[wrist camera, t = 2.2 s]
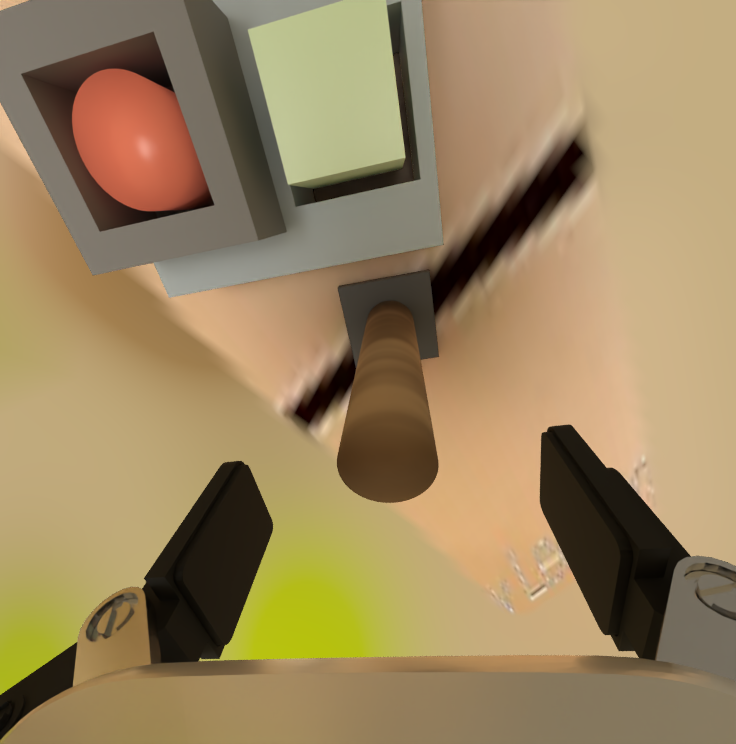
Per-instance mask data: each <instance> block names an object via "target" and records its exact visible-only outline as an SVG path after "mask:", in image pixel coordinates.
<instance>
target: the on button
mask: <svg viewBox="0 0 736 744" xmlns="http://www.w3.org/2000/svg"><path fill="white" fill-rule="evenodd" d="M248 33H249V37H250V41H251V45H252V48H253V52H254V56H255V60H256V64H257V68H258V71H259V75H260V79H261V83H262V87H263V91H264V94H265V98H266V102H267V106H268V110H269V114H270V118H271V121H272V125H273V129H274V133H275V137H276V141H277V144H278V148H279V152H280V156H281V160H282V164H283V167H284V171H285V175H286V179H287V183H288V185H293V186H299V187H305V188H312V189H316V188H320V187H325V186H329V185H334V184H338V183H342V182H347V181H351V180H356V179H360V178H364V177H369V176H373V175H377V174H382V173H386V172H391V171H395V170H399V169H402V167H403V164H404V161H405V150H404V142H403V134H402V126H401V118H400V110H399V102H398V94H397V86H396V77H395V69H394V61H393V53H392V45H391V37H390V29H389V21H388V13H387V5H386V0H343V1H339V2H336V3H333V4H329V5H326V6H323V7H320V8H316V9H313V10H310V11H307V12H303V13H300V14H297V15H294V16H290V17H287V18H284V19H281V20H277V21H274V22H271V23H268V24H264V25H261V26H258V27H254V28H251V29H248Z"/></svg>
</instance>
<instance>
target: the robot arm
mask: <svg viewBox="0 0 736 744" xmlns="http://www.w3.org/2000/svg"><path fill="white" fill-rule="evenodd" d="M540 504H541V508H542V511H543V513H544V515H545V517H546V519H547V521H548V524H549V526H550V528H551V530H552V532H553V534H554V536H555V538H556V540H557V542H558V544H559V546H560V548H561V550H562V552H563V554H564V556H565V558H566V560H567V562H568V565H569V567H570V569H571V571H572V573H573V575H574V577H575V579H576V581H577V583H578V585H579V587H580V589H581V591H582V593H583V595H584V597H585V599H586V601H587V603H588V605H589V608H590V610H591V612H592V613H593V616H594V618H595V620H596V622H597V624H598V626H599V628H600V630H601V631H602V632H603V634H605V635H611V637H612V638H613V641H614V643H615V645H616V647H617V649H618V650H619V651H635V652H636V654H637V655H638V657H639V658H630V657H629V658H628V657H612V656H570V655H562V656H561V655H560V656H559V655H502V656H501V655H500V656H423V657H421V656H420V657H363V658H313V659H312V658H310V659H309V658H308V659H267V660H224V661H202V662H201V661H199V659H200V657H201V659H219V658H220V656H221V653H222V651H223V649H224V646H225V645H227V644H228V643H229V642H230V640H231V638H232V636H233V634H234V631H235V628H236V626H237V623H238V620H239V618H240V615H241V612H242V610H243V607H244V605H245V602H246V599H247V597H248V594H249V592H250V589H251V586H252V584H253V581H254V579H255V576H256V573H257V570H258V568H259V565H260V563H261V560H262V558H263V555H264V552H265V550H266V547H267V545H268V542H269V539H270V537H271V534H272V531H273V522H272V519H271V517H270V515H269V512H268V510H267V507H266V505H265V503H264V500H263V498H262V496H261V494H260V491H259V489H258V486H257V484H256V482H255V479H254V477H253V475H252V473H251V470H250V468H249V466H248V465H245V464H244V463H243V462H242V461H234V462H225V463H223V464H222V465H221V466H220V468H219V469H218V471H217V472H216V473H215V475H214V476H213V478H212V479H211V481H210V482H209V484H208V485H207V487H206V488H205V490H204V491H203V493H202V494H201V495H200V497H199V498H198V500H197V501H196V503H195V504H194V506H193V507H192V509H191V510H190V512H189V513H188V515H187V516H186V517H185V519H184V520H183V522H182V523H181V525H180V526H179V528H178V529H177V531H176V532H175V534H174V535H173V537H172V538H171V539H170V541H169V543H168V544H167V545H166V547H165V548H164V550H163V551H162V553H161V554H160V556H159V557H158V559H157V560H156V562H155V563H154V565H153V566H152V567H151V569H150V570H149V572H148V573H147V575H146V576H145V578H144V579H145V580H146V584H145V585H144V587H143V588H142V589H141V588H139V587H128V588H125V589H122V590H120V591H118V592H116V593H114V594H112V595H111V596H109V597H108V598H107V599H105V600H104V601H103V602H102V603H100V604H99V605H98V606H97V607H96V608H95V609H94V610H93V611H92V612H91V614H90V615H89V616H88V617H87V619H86V620H85V622H84V624H83V625H82V627H81V629H80V632H79V636H78V642H77V643H75V644H74V645H72V646H71V647H69V648H68V649H66V650H65V651H64V652H62V653H61V654H59V655H58V656H56V657H55V658H53V659H52V660H51V661H49V662H48V663H46V664H45V665H43V666H42V667H40V668H39V669H37V670H36V671H35V672H33V673H32V674H30V675H29V676H28V677H26V678H24V679H23V680H21V681H20V682H19V683H17V684H16V685H14V686H13V687H11V688H10V689H8V690H7V691H5V692H4V693H2V694H1V695H0V744H736V566H734V565H732V564H730V563H728V562H725V561H722V560H718V559H715V558H712V557H704V556H692V557H691V556H690V555H689V554H688V553H687V551H686V550H685V549H684V548H683V547H682V545H681V544H680V543H679V542H678V541H677V540H676V538H675V537H674V536H673V535H672V534H671V532H669V530H668V529H667V528H666V527H665V525H664V524H663V523H662V522H661V521H660V520H659V518H658V517H657V516H656V515H655V514H654V513H653V511H652V510H651V509H650V508H649V507H648V506H647V504H646V503H645V502H644V501H643V500H642V498H641V497H640V496H639V495H638V494H637V493H636V491H635V490H634V489H633V488H632V487H631V486H630V484H629V483H628V482H627V481H626V480H625V479H624V477H623V476H622V475H621V474H620V473H619V472H618V471H617V470H616V469H614V468H606V467H605V465H604V464H603V463H602V462H601V461H600V459H599V458H598V457H597V456H596V454H595V453H594V452H593V451H592V450H591V448H590V447H589V446H588V445H587V443H586V442H585V441H584V440H583V439H582V437H581V436H580V435H579V434H578V432H577V431H576V430H575V429H574V428H573V427H572V426H571V425H561V426H552V427H548V430H547V432H543V433H542V436H541V471H540ZM198 661H199V662H198Z"/></svg>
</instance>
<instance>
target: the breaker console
mask: <svg viewBox="0 0 736 744" xmlns="http://www.w3.org/2000/svg"><path fill="white" fill-rule="evenodd" d="M339 1H343V0H29V1H26V2H24V3H21V4H18V5H15V6H12V7H10V8H7V9H4V10H1V11H0V103H1V105H2V107H3V108H4V110H5V112H6V114H7V116H8V118H9V120H10V121H11V123H12V125H13V127H14V129H15V131H16V133H17V135H18V136H19V138H20V140H21V142H22V144H23V146H24V148H25V149H26V151H27V153H28V155H29V157H30V159H31V161H32V163H33V164H34V166H35V168H36V170H37V172H38V174H39V176H40V178H41V179H42V181H43V183H44V185H45V187H46V189H47V191H48V192H49V194H50V196H51V198H52V200H53V202H54V204H55V206H56V207H57V209H58V211H59V213H60V215H61V217H62V219H63V220H64V222H65V224H66V226H67V228H68V229H69V232H70V233H71V235H72V237H73V239H74V241H75V243H76V245H77V247H78V248H79V250H80V252H81V254H82V256H83V258H84V260H85V262H86V263H87V265H88V267H89V269H90V271H91V273H92V275H97V274H101V273H107V272H111V271H116V270H121V269H126V268H130V267H135V266H140V265H145V264H149V263H154V265H155V267H156V269H157V272H158V274H159V276H160V278H161V281H162V283H163V285H164V287H165V289H166V292H167V294H168V296H169V298H170V297H175V296H180V295H186V294H191V293H196V292H201V291H206V290H211V289H217V288H222V287H227V286H232V285H237V284H243V283H248V282H253V281H258V280H263V279H269V278H274V277H279V276H284V275H289V274H294V273H300V272H305V271H310V270H315V269H320V268H326V267H331V266H336V265H341V264H346V263H352V262H357V261H362V260H367V259H372V258H377V257H383V256H388V255H393V254H398V253H403V252H409V251H414V250H419V249H424V248H429V247H434V246H440V245H444V244H443V233H442V222H441V211H440V200H439V189H438V178H437V166H436V155H435V144H434V133H433V122H432V111H431V100H430V89H429V78H428V67H427V56H426V45H425V34H424V23H423V12H422V1H421V0H386V5H387V13H388V21H389V29H390V37H391V45H392V53H393V54H395V53H399V57H400V65H401V74H402V82H403V91H404V99H405V108H406V116H407V125H408V133H409V142H410V151H411V159H412V168H413V176H414V181H410V182H406V183H401V184H397V185H392V186H388V187H383V188H379V189H374V190H370V191H365V192H361V193H356V194H352V195H347V196H343V197H338V198H334V199H329V200H325V201H320V202H315V198H314V193H313V189H312V188H305V187H299V186H293V185H288V183H287V179H286V175H285V171H284V167H283V164H282V160H281V156H280V152H279V148H278V144H277V141H276V137H275V133H274V129H273V125H272V121H271V118H270V114H269V110H268V106H267V102H266V98H265V94H264V91H263V87H262V83H261V79H260V75H259V71H258V68H257V64H256V60H255V56H254V52H253V48H252V45H251V41H250V37H249V33H248V29H251V28H254V27H258V26H261V25H264V24H268V23H271V22H274V21H277V20H281V19H284V18H287V17H290V16H294V15H297V14H300V13H303V12H307V11H310V10H313V9H316V8H320V7H323V6H326V5H329V4H333V3H336V2H339ZM105 69H124V70H128V71H131V72H134V73H136V74H138V75H140V76H143V77H145V78H147V79H149V80H151V81H153V82H155V83H157V84H159V85H161V86H163V87H165V88H167V89H169V90H171V91H173V92H175V94H176V97H177V100H178V102H179V105H180V108H181V111H182V114H183V117H184V120H185V122H186V125H187V128H188V131H189V134H190V137H191V140H192V142H193V145H194V148H195V151H196V154H197V157H198V159H199V162H200V165H201V168H202V171H203V174H204V177H205V179H206V182H207V185H208V188H209V191H210V194H211V196H212V199H213V202H214V206H209V207H205V208H201V209H194V210H170V211H142V210H137V209H134V208H131V207H129V206H126V205H124V204H122V203H121V202H119V201H117V200H116V199H114V198H113V197H112V196H110V195H109V194H108V193H107V192H106V191H105V190H103V188H102V187H101V186H100V185H99V184H98V183H97V182H96V181H95V179H94V178H93V177H92V176H91V174H90V173H89V171H88V169H87V168H86V166H85V164H84V162H83V160H82V158H81V156H80V154H79V151H78V149H77V145H76V142H75V138H74V134H73V126H72V111H73V104H74V100H75V97H76V94H77V92H78V90H79V88H80V87H81V85H82V84H83V82H84V81H85V80H86V79H87V78H88V77H90V76H91V75H93V74H94V73H96V72H99V71H101V70H105Z"/></svg>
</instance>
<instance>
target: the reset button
mask: <svg viewBox="0 0 736 744" xmlns="http://www.w3.org/2000/svg"><path fill="white" fill-rule="evenodd" d="M72 126H73V134H74V138H75V142H76V145H77V149H78V151H79V154H80V156H81V158H82V160H83V162H84V164H85V166H86V168H87V169H88V171H89V173H90V174H91V176H92V177H93V178H94V179H95V181H96V182H97V183H98V184H99V185H100V186H101V187H102V188H103V190H105V191H106V192H107V193H108V194H109V195H110V196H112V197H113V198H114V199H116V200H117V201H119V202H121V203H122V204H124V205H126V206H129V207H131V208H134V209H137V210H142V211H170V210H194V209H201V208H205V207H209V206H214V202H213V199H212V196H211V194H210V191H209V188H208V185H207V182H206V179H205V177H204V174H203V171H202V168H201V165H200V162H199V159H198V157H197V154H196V151H195V148H194V145H193V142H192V140H191V137H190V134H189V131H188V128H187V125H186V122H185V120H184V117H183V114H182V111H181V108H180V105H179V102H178V100H177V97H176V94H175V92H173V91H171V90H169V89H167V88H165V87H163V86H161V85H159V84H157V83H155V82H153V81H151V80H149V79H147V78H145V77H143V76H140V75H138V74H136V73H134V72H131V71H128V70H124V69H105V70H101V71H99V72H96V73H94V74H93V75H91V76H90V77H88V78H87V79H86V80H85V81H84V82H83V84H82V85H81V87H80V88H79V90H78V92H77V94H76V97H75V100H74V104H73V111H72Z"/></svg>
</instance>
